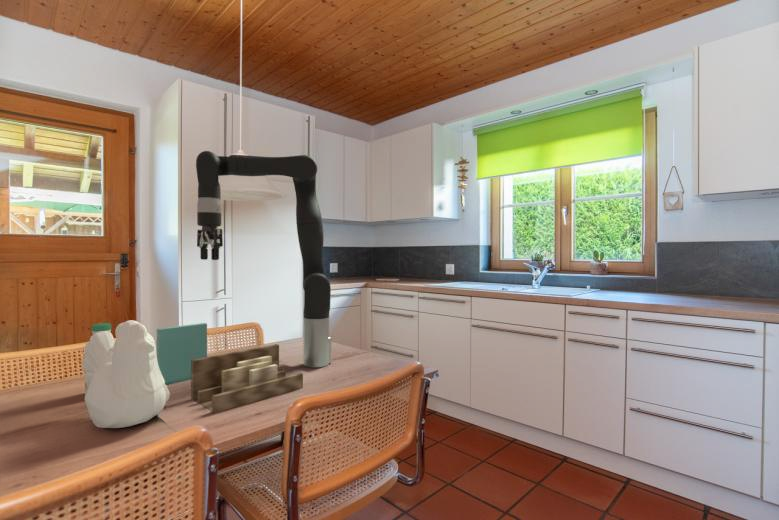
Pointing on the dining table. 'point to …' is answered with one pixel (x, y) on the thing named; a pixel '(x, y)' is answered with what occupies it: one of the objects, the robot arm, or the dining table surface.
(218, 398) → the walnut rack
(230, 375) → the offcut stack
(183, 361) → the teal panel
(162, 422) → the dining table surface
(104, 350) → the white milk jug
